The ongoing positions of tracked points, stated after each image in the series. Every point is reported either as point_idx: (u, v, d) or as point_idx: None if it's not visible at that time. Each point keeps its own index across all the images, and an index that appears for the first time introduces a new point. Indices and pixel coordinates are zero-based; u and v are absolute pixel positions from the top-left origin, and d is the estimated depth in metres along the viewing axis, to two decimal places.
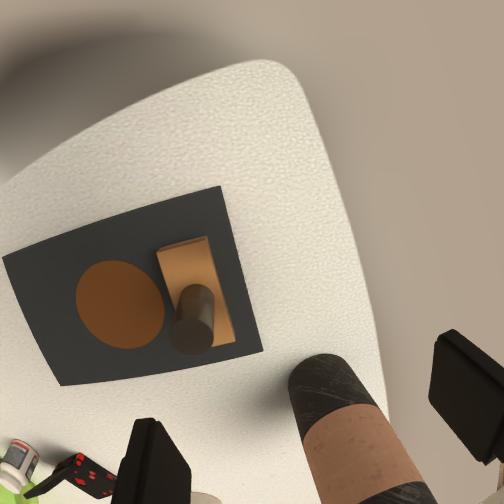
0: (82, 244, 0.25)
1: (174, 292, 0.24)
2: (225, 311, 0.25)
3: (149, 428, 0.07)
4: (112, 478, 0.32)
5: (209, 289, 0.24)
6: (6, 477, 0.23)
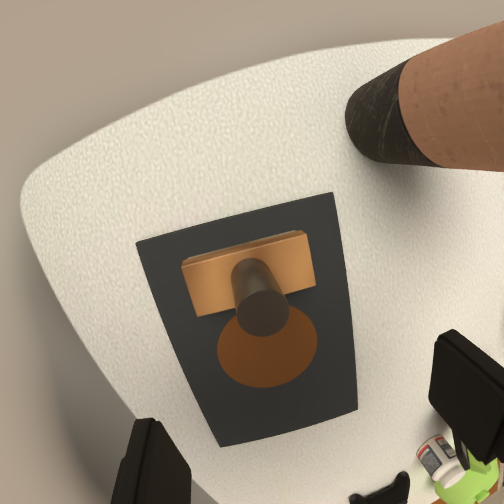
0: (202, 376, 0.27)
1: None
2: (266, 245, 0.21)
3: (149, 428, 0.07)
4: None
5: (237, 264, 0.21)
6: (445, 480, 0.28)
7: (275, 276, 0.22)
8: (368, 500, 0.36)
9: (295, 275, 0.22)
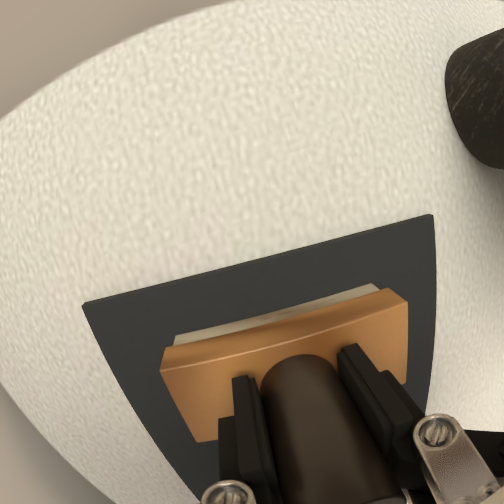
0: (207, 482, 0.15)
1: None
2: (333, 329, 0.10)
3: (249, 383, 0.09)
4: None
5: (274, 368, 0.10)
6: None
7: None
8: None
9: None
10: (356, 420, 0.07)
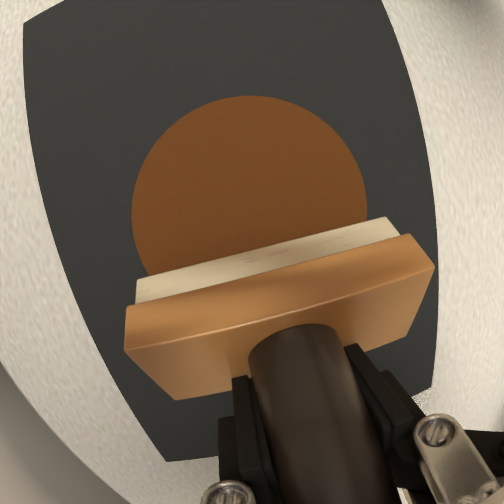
0: (103, 292, 0.11)
1: None
2: (346, 298, 0.08)
3: (249, 383, 0.09)
4: None
5: (268, 342, 0.08)
6: None
7: (344, 340, 0.09)
8: None
9: (381, 332, 0.10)
10: (368, 431, 0.06)
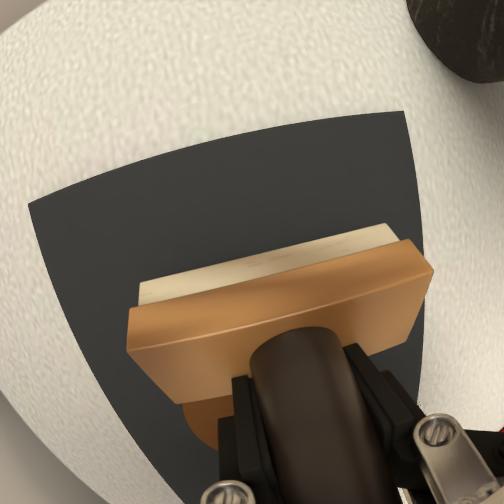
0: (161, 443, 0.14)
1: None
2: (347, 301, 0.08)
3: (248, 383, 0.09)
4: None
5: (269, 344, 0.08)
6: None
7: (344, 344, 0.09)
8: None
9: (381, 337, 0.10)
10: (369, 432, 0.06)
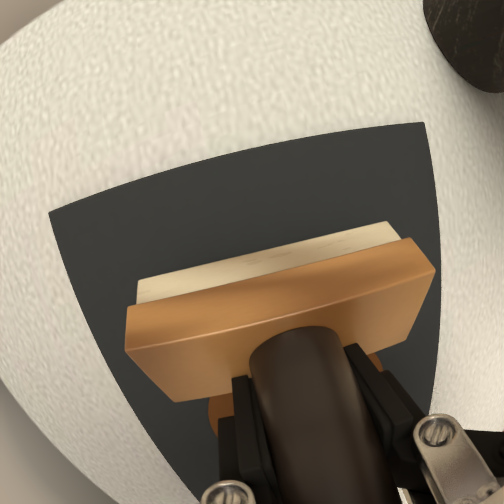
0: (184, 448, 0.14)
1: None
2: (348, 300, 0.08)
3: (249, 383, 0.09)
4: None
5: (269, 343, 0.08)
6: None
7: (344, 343, 0.09)
8: None
9: (381, 335, 0.10)
10: (369, 433, 0.06)
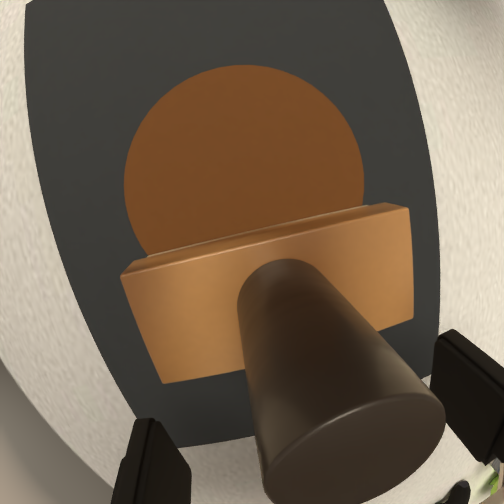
0: (93, 263, 0.11)
1: None
2: (324, 229, 0.09)
3: (149, 428, 0.08)
4: None
5: (253, 273, 0.09)
6: None
7: None
8: None
9: (380, 299, 0.09)
10: (357, 313, 0.06)
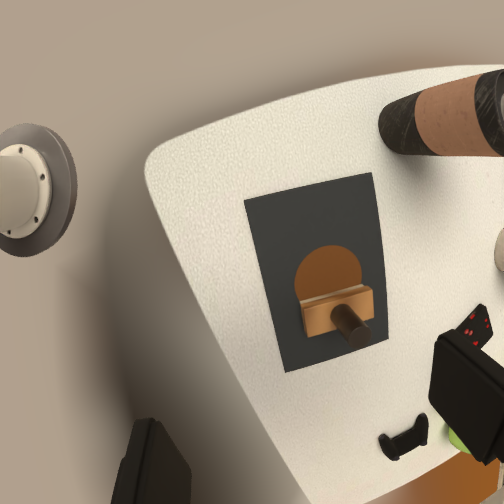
0: (281, 303, 0.38)
1: (333, 327, 0.37)
2: (351, 296, 0.36)
3: (149, 428, 0.07)
4: (473, 314, 0.42)
5: (335, 307, 0.36)
6: None
7: None
8: (394, 441, 0.47)
9: (364, 312, 0.36)
10: (358, 316, 0.33)
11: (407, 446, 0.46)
